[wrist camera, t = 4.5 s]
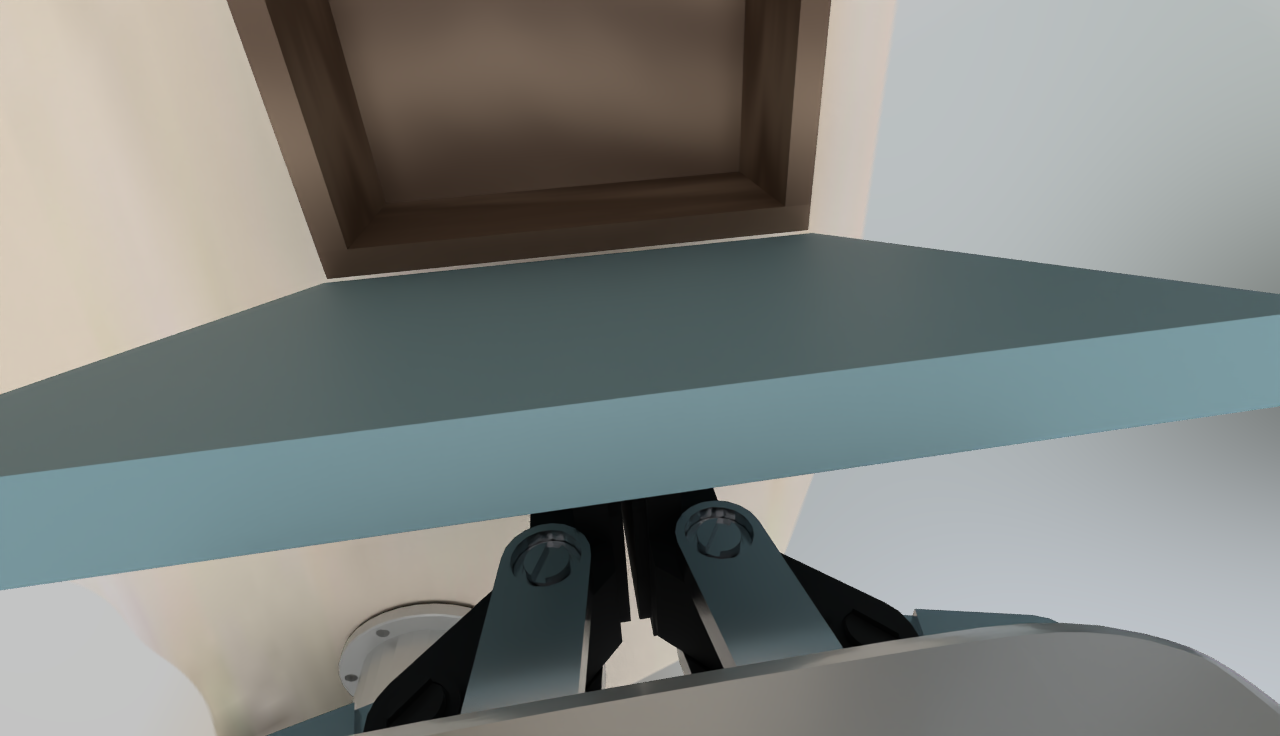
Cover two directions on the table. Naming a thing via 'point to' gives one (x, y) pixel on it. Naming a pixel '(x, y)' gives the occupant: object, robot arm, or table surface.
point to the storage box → (537, 123)
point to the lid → (593, 392)
